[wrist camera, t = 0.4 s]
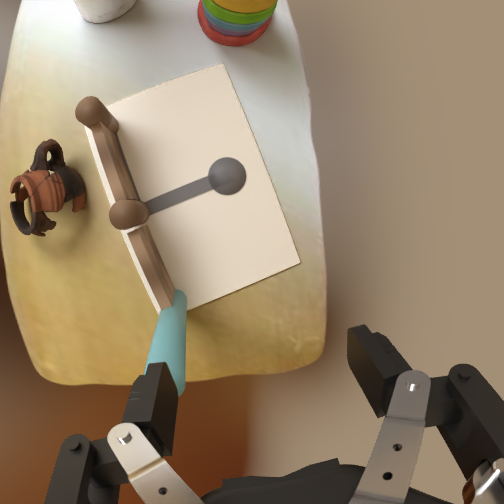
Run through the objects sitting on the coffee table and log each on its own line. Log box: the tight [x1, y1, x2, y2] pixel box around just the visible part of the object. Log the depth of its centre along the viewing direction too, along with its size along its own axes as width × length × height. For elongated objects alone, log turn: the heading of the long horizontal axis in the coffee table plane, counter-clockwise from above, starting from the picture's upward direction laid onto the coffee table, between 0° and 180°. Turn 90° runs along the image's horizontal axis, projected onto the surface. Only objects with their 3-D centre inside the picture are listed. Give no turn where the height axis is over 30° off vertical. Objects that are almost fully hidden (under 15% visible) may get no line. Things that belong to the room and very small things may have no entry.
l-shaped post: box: [127, 225, 187, 396], centre depth 28 cm, size 12×3×20 cm, turn 21°
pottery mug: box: [10, 139, 85, 236], centre depth 31 cm, size 12×9×8 cm
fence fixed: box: [75, 96, 150, 230], centre depth 31 cm, size 15×3×8 cm, turn 21°
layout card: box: [84, 64, 300, 314], centre depth 37 cm, size 29×20×1 cm
